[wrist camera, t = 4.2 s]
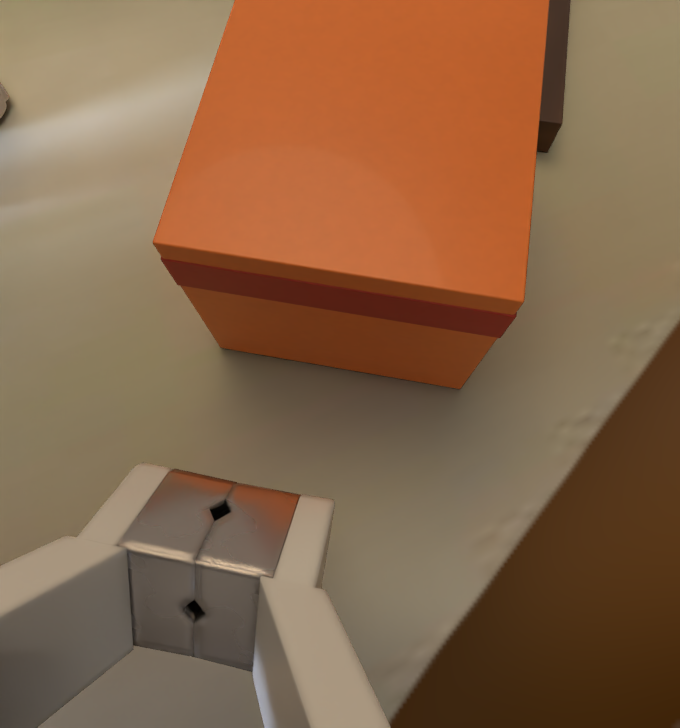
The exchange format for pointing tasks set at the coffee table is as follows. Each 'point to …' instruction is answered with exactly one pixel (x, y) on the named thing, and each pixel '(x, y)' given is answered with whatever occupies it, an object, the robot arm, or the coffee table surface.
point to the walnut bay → (554, 73)
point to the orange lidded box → (362, 182)
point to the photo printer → (3, 100)
